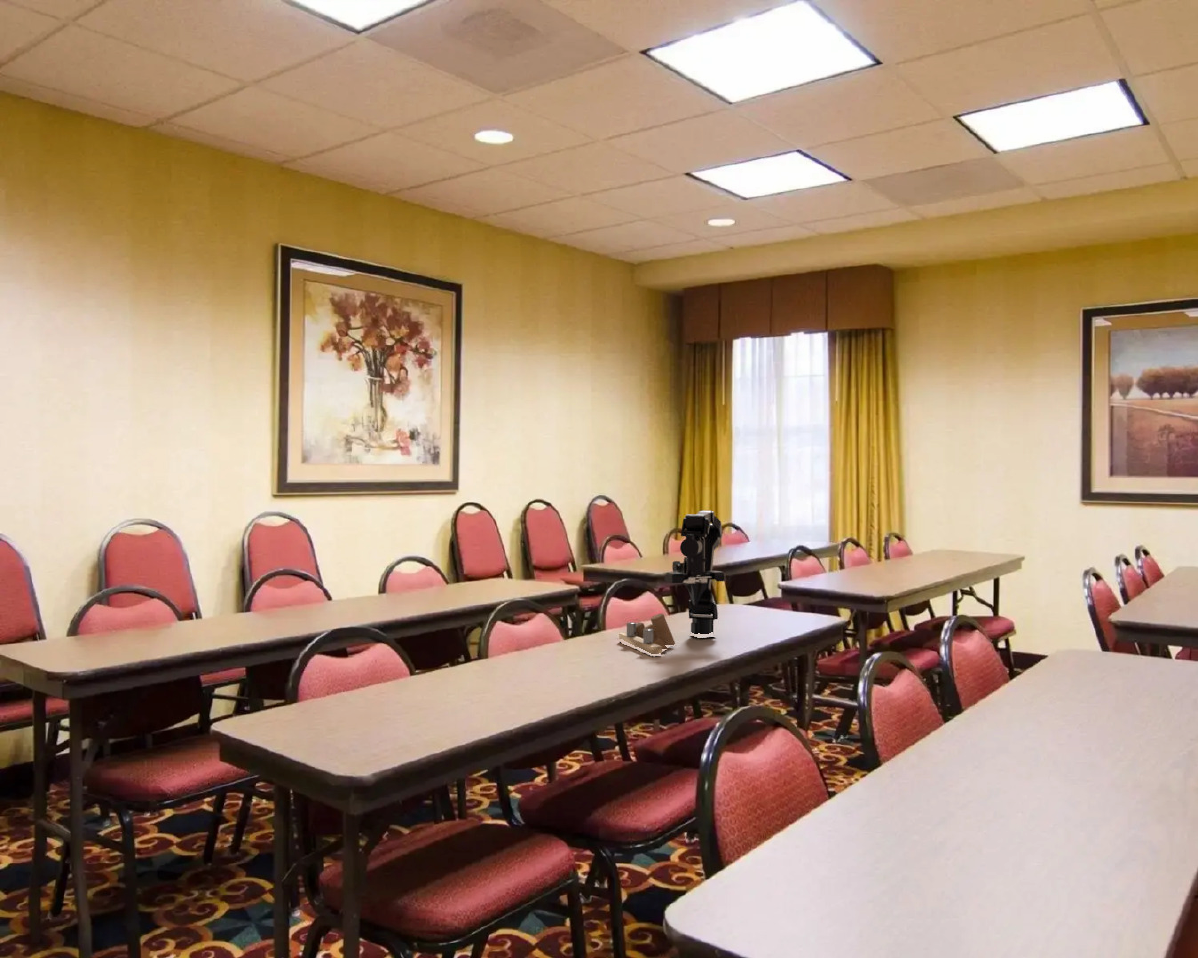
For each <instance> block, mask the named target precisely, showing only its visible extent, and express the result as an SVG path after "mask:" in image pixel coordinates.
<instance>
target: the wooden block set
mask: <svg viewBox="0 0 1198 958" xmlns="http://www.w3.org/2000/svg"><path fill="white" fill-rule="evenodd" d="M650 621H651V623H652V624H649V625H646V626H645V624H644V623H643V622H636V636H637V637H640V638H642V639H643V629H653V643H655V644H657V645H660V646H662V649H668V650H669V648H667V647H666V646H665V645H674V644H676V641H675V638H674V637H673V635H672V632H671V629H670V626H669V625H668V622H667V619H666V617H665V615H664V613H661V612H660V613H657V614H654V615H653V616H652V617H650ZM674 646H675V645H674Z"/></svg>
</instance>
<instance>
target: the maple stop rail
mask: <svg viewBox="0 0 1198 958" xmlns="http://www.w3.org/2000/svg"><path fill="white" fill-rule="evenodd" d="M618 635H619V636H618V640H619V639H623V640H624V641H626V642H628V643H630V644H632V645H634V646H635V647H639V648H641V649H643V650H645V651H647V652H649V653H651V654H659V653H662V646H660V645H657V644H655V643H653V644H644V643H643V639H642V638H640V637H637V636H636V637H627V632H619V633H618ZM662 654H663V653H662Z"/></svg>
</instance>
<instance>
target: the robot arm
mask: <svg viewBox="0 0 1198 958" xmlns="http://www.w3.org/2000/svg"><path fill="white" fill-rule="evenodd" d="M680 537H685V539H683V540H682V542H681V543H680V546H679V549H680V552H681V554H682V555H683V556H684V558H683V562H681V561H679V560H678V561H677V560H674V561H672V564H671V565H672V566H671V567H672V571H671V572H669V571H668V572H666V573H665V575H664V582H666V583H667V582H668V583H671V584H683V585H685V587H686V588H687V590H688V593H689V596H690V597H689V598H690V599H689V600H688V604H687V606H688V619H692V620H691V621H692V622H691V623H690V633H691V632H692V633H694V634H698V633H700V634H709V633H711V632H713V633H714V621H715V620H718V618H719V616H718V615H719V612H718V605H717V604H716V601H715V597H714V595H713V592H712V591H711V589H712V588H711V586H712V580H715V582H726V575H725V572H724V571H720V570H713V566H714V565H713V564H714V558H715V557H714V556H715V555H714V554H715V550H717V548H718V546H720V541H721V538H723V526H722V522H721V520H720V519H719V518H717V516H715V511H712V510H700V511H698V513H696V514H689V513H688V514H685V517H683V519H682V525H681V532H680Z"/></svg>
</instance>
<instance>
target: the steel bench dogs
mask: <svg viewBox="0 0 1198 958" xmlns="http://www.w3.org/2000/svg"><path fill="white" fill-rule="evenodd" d="M636 624H637V622H627V623H626V633H627V637H636ZM643 643H644V644H653V629H643Z"/></svg>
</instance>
